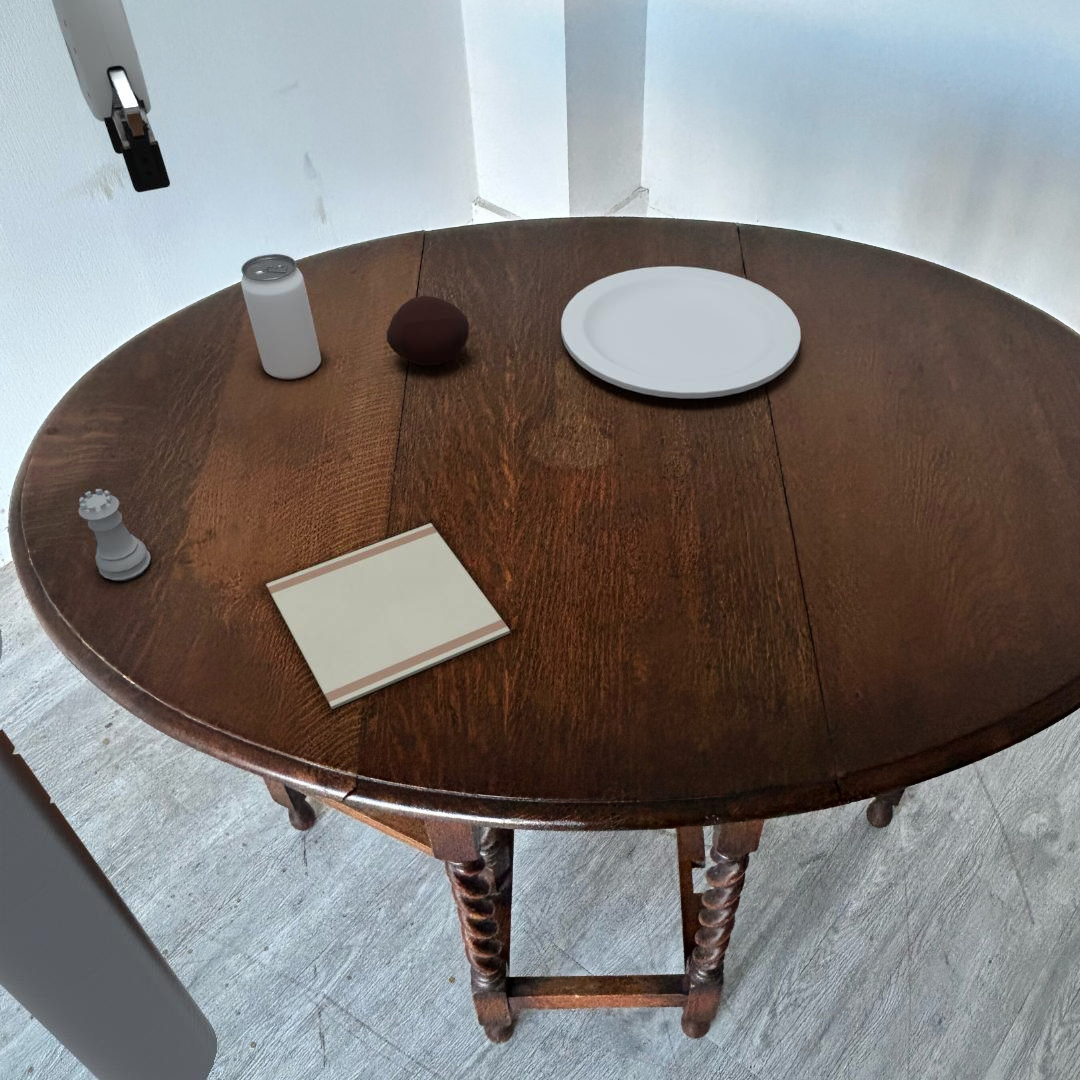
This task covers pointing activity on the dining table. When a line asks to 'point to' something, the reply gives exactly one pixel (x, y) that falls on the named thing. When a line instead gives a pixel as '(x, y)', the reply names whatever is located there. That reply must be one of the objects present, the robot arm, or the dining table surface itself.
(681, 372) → the plate
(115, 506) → the rook chess piece
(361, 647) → the napkin
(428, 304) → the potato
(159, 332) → the dining table surface
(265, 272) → the can
